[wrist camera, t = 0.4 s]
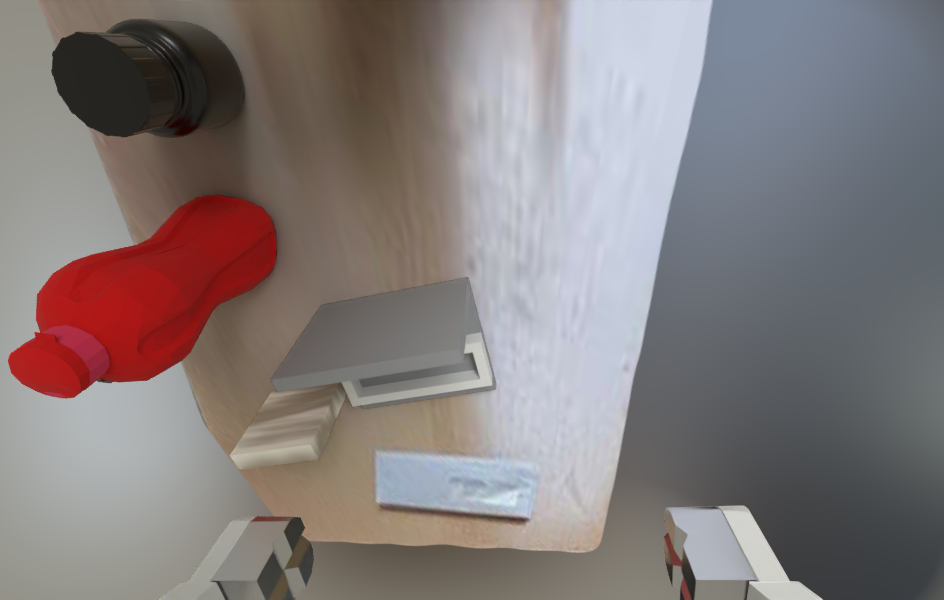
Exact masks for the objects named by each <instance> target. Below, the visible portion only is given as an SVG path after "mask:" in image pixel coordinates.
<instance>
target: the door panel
mask: <svg viewBox="0 0 944 600" xmlns="http://www.w3.org/2000/svg"><path fill="white" fill-rule="evenodd" d="M346 395H347V394H346V392H345V390H344V388H343V386H342V383H341V382H340V383H333V384H327V385H321V386H315V387H309V388H302V389H296V390H290V391H284V392H277V391H274V392H271V393H270V395H269V396H268V398H267V399H266V401H265V402H264V404H263V405H262V407H261V408H260V410H259V411H258V413H257V414H256V416H255V418H254V419H253V421H252V422H251V424H250V425H249V427H248V428H247V430H246V431H245V433H244V434H243V436H242V437H241V439H240V440H239V442H238V443H237V445H236V446H235V448H234V450H233V451H232V453H231V454H230V457H231V459H232V460H233V462H234V463H235V465H236V466H237V468H238V469H239V470H245V469H252V468H260V467H267V466H275V465H282V464H290V463H297V462H305V461H313V460H319V458H320V455H321V453H322V451H323V448H324V446H325V444H326V441H327V439H328V437H329V434H330V432H331V430H332V428H333V425H334V423H335V421H336V418H337V416H338V414H339V411H340V409H341V407H342V405H343V402H344V400H345V398H346Z"/></svg>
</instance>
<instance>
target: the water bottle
mask: <svg viewBox="0 0 944 600" xmlns="http://www.w3.org/2000/svg"><path fill="white" fill-rule="evenodd" d="M276 255H277V251H276V231H275V228H274V225H273V222H272V220H271V217H270V216H269V215H268V214H267V213H266V211H265V210H264V209H263V208H262V207H260V206H258V205H255V204H253V203H251V202H249V201H247V200H244V199H237V198H230V197H226V196H221V195H214V196H204V197H196V198H194V199H193V200H191V201H189V202H188V203H186V204H184V205H183V206H181V207H179V208H178V209H177V210H176V211H175V212H174V213H173V214H172V215H171V216H170V218H169V219H168V220H167V221H166V222H165V223H164V224H163V225H162V226H161V227H160V228H159V230H158V231H157V232H156V233H155V234H154V235H153V236H152V237H151V238H150V239H148V240H146V241H144V242H142V243H140V244H138V245H134V246H129V247H125V248H120V249H116V250H111V251H106V252H102V253H97V254H93V255H89V256H87V257H84V258H81V259H78V260H75V261H72V262H71V263H69V264H68V265H66V266H64V267H63V268H61V269H60V270H58V271H56V272H55V273H53V275H52V276H51V277H50V278H49V280H48V281H47V282H46V284H45V285H44V286H43V288H42V289H41V290H40V291H39V293H38V294H37V308H36V321H37V324H38V327H39V330H40V333H37V332H35V336H36V337H35V338H33V339H31V340H30V341H28V342H26V343H25V344H23V345H22V346H21V347H20V348H18V349H16V350H15V351H14V352H12V353H11V354H10V356H9V359H8V363H9V366H10V370H11V373H12V374H13V375H14V376H15V377H16V378H17V379H18V380H19V381H20V382H21V383H22V384H23V385H25V386H27V387H29V388H31V389H33V390H35V391H37V392H40V393H42V394H45V395H49V396H53V397H58V398H74V397H75V396H76V395H78V394H79V393H81V392H82V391H83V390H85V389H87V388H88V387H89V386H90V385H92V384H93V383H94V382H95V381H98V382H104V383H112V382H131V381H147V380H149V379H151V378H153V377H155V376H156V375H158V374H160V373H162V372H163V371H165V370H167V369H168V368H170V367H172V366H174V365H175V364H177V363H179V362H180V361H182V360H183V359H184V358H185V357H186V356H187V355H188V354H189V353H190V352H191V350H192V348H193V346H194V345H195V343H196V341H197V339H198V337H199V335H200V334H201V332H202V330H203V328H204V326H205V324H206V322H207V321H208V319H209V317H210V315H211V313H212V311H213V310H214V309H215V308H216V307H217V306H218V305H219V304H221V303H223V302H226V301H228V300H230V299H232V298H234V297H236V296H238V295H241V294H243V293H245V292H247V291H249V290H251V289H253V288H254V287H255V286H256V285H258V284H259V283H260V282H261V281H263V280H264V279H265V278H266V277H267V276H269V275H270V273H271V272H272V270H273V267H274V264H275V260H276Z"/></svg>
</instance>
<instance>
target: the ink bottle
mask: <svg viewBox="0 0 944 600" xmlns="http://www.w3.org/2000/svg"><path fill="white" fill-rule="evenodd" d="M52 56H53V61H52V70H51V71H52V75H53V77H54V80H55V83H56V86H57V91H58V93H59V95H60V96H61V97H62V98H63V100H64V101H65V103H66V104H67V106H68V107H69V109H70V111H71V112H72V113H73V114H75V115H76V116H77V117H78V118H79V119H80V120H82V121H83V122H84V123H85V124H86V125H87V126H88V127H90V128H93V129H95V130H97V131H99V132H101V133H103V134H104V135H107V136H120V137H128V136H132V135H136V134H140V133H145V132H147V133H150V134H153V135H156V136H160V137H167V138H177V137H183V136H187V135H191V134H194V133H198V132H201V131H205V130H208V129H212V128H215V127H219V126H221V125H224V124H225V123H227V122H229V121H230V120H231V119H232V118H233V117H234V116H235V115H236V114H237V113H238V111H239V109H240V107H241V104H242V100H243V83H242V78H241V74H240V71H239V68H238V66H237V63H236V61H235V59H234V58H233V56H232V54H231V53H230V51H229V50H228V48H227V47H226V46H225V44H224V43H223V42H222V41H221V40H220V39H219V38H218V37H217V36H215V35H214V34H213V33H212V32H210V31H208V30H207V29H205V28H203V27H201V26H198V25H195V24H192V23H187V22H176V21H163V20H150V19H130V20H125V21H122V22H120V23H117V24H116V25H114V26H112V27H111V28H110V29H109V30H108V31H107V32H106V33H96V32H75V33H74V34H72V35H70V36H68V37H66V38H62V39H61V40H60V43H59V44H58V46H57V47H56V49H55V51H53V53H52Z"/></svg>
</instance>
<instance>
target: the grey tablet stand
mask: <svg viewBox="0 0 944 600" xmlns="http://www.w3.org/2000/svg"><path fill="white" fill-rule="evenodd" d="M270 381H271V382H272V384H273V386H274V388H275V390H276V391H277V392H284V391H290V390H296V389H302V388H309V387H315V386H321V385H327V384H333V383H340V382H341V383H342V385H343V387H344V389H345V391H346V393H347V395H348V398H349V400H350V402H351V404H352V406H359V405H361V406H362V408H363V409H367V408H374V407H380V406H387V405H394V404H400V403H407V402H414V401H420V400H427V399H434V398H440V397H447V396H454V395H461V394H467V393H474V392H481V391H487V390H494V389H496V380H495V377H494V373H493V369H492V365H491V362H490V358H489V354H488V350H487V346H486V343H485V339H484V335H483V331H482V327H481V324H480V320H479V316H478V312H477V308H476V305H475V301H474V297H473V293H472V289H471V286H470V282H469V278H468V277H466V278H461V279H456V280H451V281H445V282H440V283H435V284H430V285H424V286H419V287H414V288H408V289H403V290H398V291H393V292H387V293H382V294H377V295H372V296H366V297H361V298H356V299H350V300H345V301H340V302H335V303H329V304H324V305H321V306H320V308H319V309H318V311H317V312H316V314H315V315H314V317H313V318H312V320H311V321H310V322H309V324H308V325H307V327H306V328H305V330H304V331H303V333H302V334H301V336H300V337H299V339H298V340H297V342H296V343H295V344H294V346H293V347H292V349H291V350H290V352H289V353H288V355H287V356H286V358H285V359H284V361H283V362H282V364H281V365H280V366H279V368H278V369H277V371H276V372H275V374H274V375H273V377H272V378H271V380H270Z"/></svg>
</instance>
